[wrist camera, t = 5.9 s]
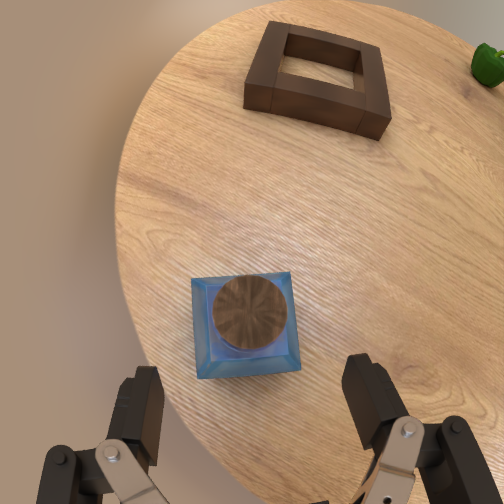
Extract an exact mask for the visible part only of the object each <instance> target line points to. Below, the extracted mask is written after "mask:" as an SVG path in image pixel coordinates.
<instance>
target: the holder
mask: <svg viewBox="0 0 504 504" xmlns="http://www.w3.org/2000/svg"><path fill="white" fill-rule="evenodd" d="M284 55H287V56H292V57H297V58H302V59H306V60H311V61H315V62H319V63H323V64H327V65H331V66H335V67H338V68H342V69H346V70H349V71H352V72H353V79H354V90H352V89H349V88H345V87H342V86H338V85H334V84H331V83H327V82H323V81H319V80H315V79H310V78H306V77H302V76H297V75H292V74H287V73H282V72H280V71H281V67H282V63H283V59H284ZM243 108H244V109H249V110H255V111H261V112H266V113H271V114H276V115H281V116H286V117H291V118H295V119H300V120H304V121H309V122H313V123H317V124H321V125H325V126H329V127H333V128H336V129H340V130H344V131H347V132H351V133H355V134H358V135H361V136H364V137H368V138H371V139H374V140H377V141H379V139H380V138H381V136H382V134H383V133H384V131H385V129H386V128H387V126H388V124H389V123H390V121H391V119H392V117H391V110H390V103H389V96H388V90H387V84H386V78H385V72H384V67H383V62H382V57H381V53H380V48H379V47H376V46H373V45H370V44H367V43H364V42H360V41H357V40H354V39H350V38H347V37H343V36H340V35H336V34H332V33H328V32H324V31H320V30H316V29H311V28H307V27H302V26H297V25H292V24H287V23H281V22H275V21H269V23H268V25H267V27H266V30H265V32H264V35H263V37H262V39H261V42H260V44H259V47H258V49H257V52H256V54H255V57H254V60H253V62H252V65H251V67H250V70H249V72H248V75H247V78H246V80H245V86H244V104H243Z"/></svg>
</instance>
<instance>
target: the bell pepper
mask: <svg viewBox="0 0 504 504" xmlns="http://www.w3.org/2000/svg"><path fill="white" fill-rule="evenodd" d="M501 55H504V51H502V50H501V51H499V52H497V51H496V49H495V48H492V47H490V46H488V45H487V44H486V43H483V44H481V45H479V46H478V47H477V49H476V51H475V53H474V56H473V59H472V64H471V69H472V72H473V75H474V76H475V77H476V79H477V80H479V81H480V82H481V83H482V84H484V85H488V86H489V87H491V88H493V87H496V86H497V85H499V84H500V83H502V82H503V81H504V58H503V57H500V56H501Z"/></svg>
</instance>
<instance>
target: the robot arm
mask: <svg viewBox="0 0 504 504" xmlns="http://www.w3.org/2000/svg"><path fill="white" fill-rule="evenodd" d="M342 390H343V393H344V396H345V398H346V401H347V404H348V407H349V409H350V412H351V415H352V417H353V420H354V423H355V426H356V429H357V431H358V434H359V437H360V440H361V443H362V445H363V448H364V450H367V449H371V448H373V451H374V455H373V457H372V459H371V462H370V464H369V466H368V468H367V471H366V473H365V475H364V477H363V479H362V482H361V484H360V486H359V488H358V490H357V491H356V493H355V495H354V496H353V498H352V499H351V501H350V503H349V504H407V502H408V499H409V497H410V494H411V491H412V488H413V485H414V482H415V475H414V474H413V472H414V468H415V467H418V469H419V472H420V475H421V478H422V481H423V484H424V487H425V490H426V493H427V496H428V499H429V502H430V504H503V502H502V499H501V497H500V494H499V492H498V489H497V487H496V484H495V482H494V479H493V477H492V474H491V472H490V470H489V467H488V465H487V463H486V461H485V458H484V456H483V454H482V452H481V450H480V448H479V445H478V443H477V441H476V439H475V437H474V435H473V433H472V431H471V429H470V427H469V425H468V423H467V422H466V420H465V419H463V418H462V417H460V416H449V417H447V418H446V419H445V420H444V421H443V423H438V424H424V423H422V422H421V421H420V420H418V419H417V418H415V417H412V416H410V415H409V413H408V412H407V410H406V408H405V406H404V404H403V402H402V400H401V398H400V396H399V394H398V392H397V390H396V388H395V386H394V384H393V382H392V381H391V378H390V376H389V374H388V373H387V371H386V369H384V368H383V367H382V366H381V365H380V364H379V363H373V364H372V362H371V360H370V358H369V356H368V354H366V353H362V354H355V355H350V356H348V359H347V362H346V366H345V369H344V373H343V376H342ZM163 408H164V389H163V386H162V383H161V380H160V376H159V373H158V370H157V367H156V366H138V367H137V370H136V374H135V378H126V379H125V381H124V382H123V383H122V385H121V386H120V388H119V392H118V395H117V399H116V403H115V407H114V411H113V414H112V418H111V422H110V426H109V431H108V435H107V438H106V439H105V441H103V442H101V443H100V444H99V445H98V446H97V447H96V448H94V449H89V450H83V451H73V450H72V449H71V448H70V447H68V446H65V445H57V446H54V447H52V448H51V449H50V450H49V451H48V453H47V455H46V458H45V462H44V467H43V471H42V476H41V480H40V485H39V491H38V496H37V501H36V504H102V499H103V494H106V493H113V492H115V494H116V495H117V497H118V499H119V500H120V504H170V503H169V502H168V501H167V500H166V498H165V497H164V496H163V495H162V493H161V492H160V491H159V489H158V488H157V487H156V485H155V484H154V483H153V481H152V480H151V479H150V477H149V476H148V468H149V466H157V458H158V448H159V439H160V431H161V423H162V415H163ZM311 504H329V501H328V500H327V501H322V502H317V503H311Z"/></svg>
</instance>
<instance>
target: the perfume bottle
mask: <svg viewBox="0 0 504 504" xmlns="http://www.w3.org/2000/svg"><path fill="white" fill-rule="evenodd" d="M191 288H192V309H193V327H194V342H195V356H196V369H197V379H214V378H230V377H244V376H255V375H265V374H275V373H283V372H291V371H299V370H301V362H300V352H299V343H298V333H297V324H296V316H295V307H294V298H293V290H292V282H291V274H290V272H279V273H266V274H252V275H238V276H223V277H208V278H192V279H191Z"/></svg>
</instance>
